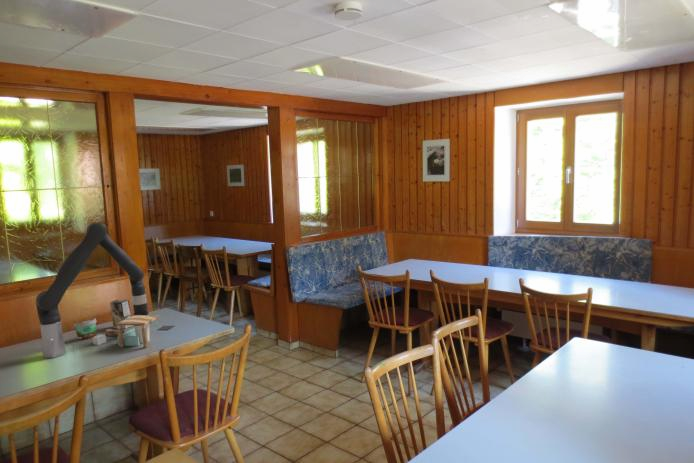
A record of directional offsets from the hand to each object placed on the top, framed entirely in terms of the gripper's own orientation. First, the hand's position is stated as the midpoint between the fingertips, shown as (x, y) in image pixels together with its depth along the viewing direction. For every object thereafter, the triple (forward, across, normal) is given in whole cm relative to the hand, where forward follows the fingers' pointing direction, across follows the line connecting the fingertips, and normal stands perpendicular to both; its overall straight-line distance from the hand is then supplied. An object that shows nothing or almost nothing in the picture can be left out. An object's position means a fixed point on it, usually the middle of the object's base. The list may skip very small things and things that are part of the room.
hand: (143, 331), depth 282 cm
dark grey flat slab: (+1, +9, +8) cm, 12 cm away
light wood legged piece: (+1, +9, -16) cm, 18 cm away
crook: (+1, +4, -9) cm, 10 cm away
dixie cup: (+1, +9, -14) cm, 17 cm away
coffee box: (+1, -21, +11) cm, 23 cm away
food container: (+1, -29, -8) cm, 30 cm away
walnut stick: (+1, -16, -3) cm, 16 cm away
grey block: (+1, -16, -16) cm, 23 cm away
